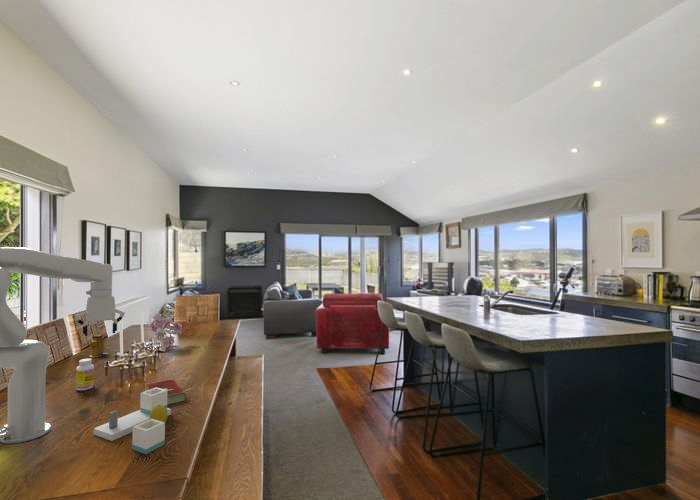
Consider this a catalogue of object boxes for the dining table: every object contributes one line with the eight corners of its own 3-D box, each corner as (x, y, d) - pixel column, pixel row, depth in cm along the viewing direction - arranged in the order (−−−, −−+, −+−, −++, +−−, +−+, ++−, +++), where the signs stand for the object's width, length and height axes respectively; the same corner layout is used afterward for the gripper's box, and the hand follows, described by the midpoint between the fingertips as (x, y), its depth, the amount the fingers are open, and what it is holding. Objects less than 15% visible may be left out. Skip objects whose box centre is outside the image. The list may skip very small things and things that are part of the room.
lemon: (163, 422, 131) (163, 400, 131) (170, 427, 128) (170, 404, 128) (146, 428, 127) (147, 405, 127) (153, 433, 123) (153, 409, 123)
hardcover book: (173, 386, 168) (173, 377, 168) (185, 401, 151) (185, 391, 151) (144, 393, 160) (144, 383, 160) (153, 409, 144) (153, 398, 144)
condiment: (87, 356, 215) (87, 336, 215) (101, 352, 223) (101, 333, 223) (96, 357, 212) (96, 337, 212) (110, 353, 220) (110, 334, 220)
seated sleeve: (151, 415, 133) (151, 395, 133) (140, 411, 135) (140, 392, 136) (167, 408, 138) (167, 390, 139) (155, 405, 141) (156, 387, 141)
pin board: (111, 441, 118) (112, 419, 118) (93, 434, 122) (93, 413, 123) (171, 414, 138) (171, 395, 138) (153, 409, 142) (153, 391, 142)
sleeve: (145, 454, 110) (146, 431, 111) (132, 449, 113) (132, 426, 113) (165, 444, 116) (165, 422, 116) (151, 439, 119) (152, 418, 119)
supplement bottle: (84, 391, 160) (84, 362, 160) (71, 390, 161) (72, 361, 161) (97, 386, 167) (97, 358, 167) (85, 385, 168) (85, 357, 168)
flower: (194, 346, 233) (188, 309, 241) (161, 350, 214) (154, 310, 222) (176, 355, 242) (170, 320, 250) (142, 360, 223) (137, 321, 231)
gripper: (75, 295, 144) (74, 338, 144) (126, 292, 155) (125, 333, 154) (75, 293, 150) (74, 335, 150) (124, 291, 161) (123, 330, 160)
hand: (100, 334), depth 152 cm, fingers open, 9 cm apart
